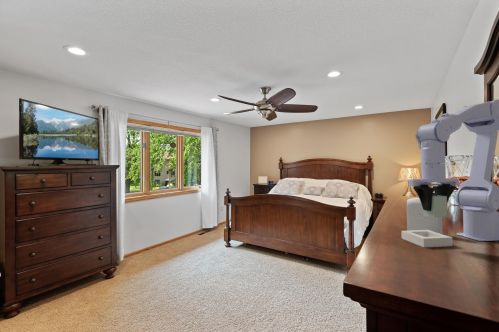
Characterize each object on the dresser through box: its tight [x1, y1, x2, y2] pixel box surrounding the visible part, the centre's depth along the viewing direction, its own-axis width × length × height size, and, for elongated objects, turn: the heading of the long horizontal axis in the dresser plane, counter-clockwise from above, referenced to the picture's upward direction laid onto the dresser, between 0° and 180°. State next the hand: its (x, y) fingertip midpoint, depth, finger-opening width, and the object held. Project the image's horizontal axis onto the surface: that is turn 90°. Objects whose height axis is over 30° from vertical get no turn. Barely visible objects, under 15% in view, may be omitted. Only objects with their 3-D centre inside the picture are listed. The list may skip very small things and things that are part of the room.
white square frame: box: [401, 230, 454, 248], centre depth 75 cm, size 9×9×2 cm
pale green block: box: [423, 192, 448, 218], centre depth 72 cm, size 4×4×7 cm
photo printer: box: [406, 197, 443, 234], centre depth 86 cm, size 10×4×12 cm, turn 39°
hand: (434, 210), depth 72 cm, fingers closed on pale green block, 4 cm apart
